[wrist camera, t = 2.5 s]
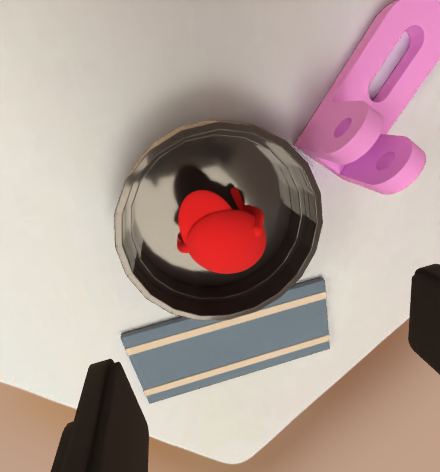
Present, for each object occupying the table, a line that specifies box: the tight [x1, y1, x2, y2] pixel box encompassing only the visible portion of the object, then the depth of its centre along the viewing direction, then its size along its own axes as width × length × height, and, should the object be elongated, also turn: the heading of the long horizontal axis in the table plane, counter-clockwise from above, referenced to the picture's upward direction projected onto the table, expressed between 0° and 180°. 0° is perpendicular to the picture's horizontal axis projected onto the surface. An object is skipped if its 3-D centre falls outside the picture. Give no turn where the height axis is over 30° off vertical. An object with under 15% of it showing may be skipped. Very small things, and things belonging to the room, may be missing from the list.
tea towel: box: [121, 277, 330, 403], centre depth 31 cm, size 20×9×1 cm, turn 102°
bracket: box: [294, 0, 440, 194], centre depth 21 cm, size 13×6×7 cm, turn 148°
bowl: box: [114, 120, 323, 321], centre depth 24 cm, size 15×15×4 cm
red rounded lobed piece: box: [177, 187, 266, 274], centre depth 23 cm, size 8×6×6 cm
